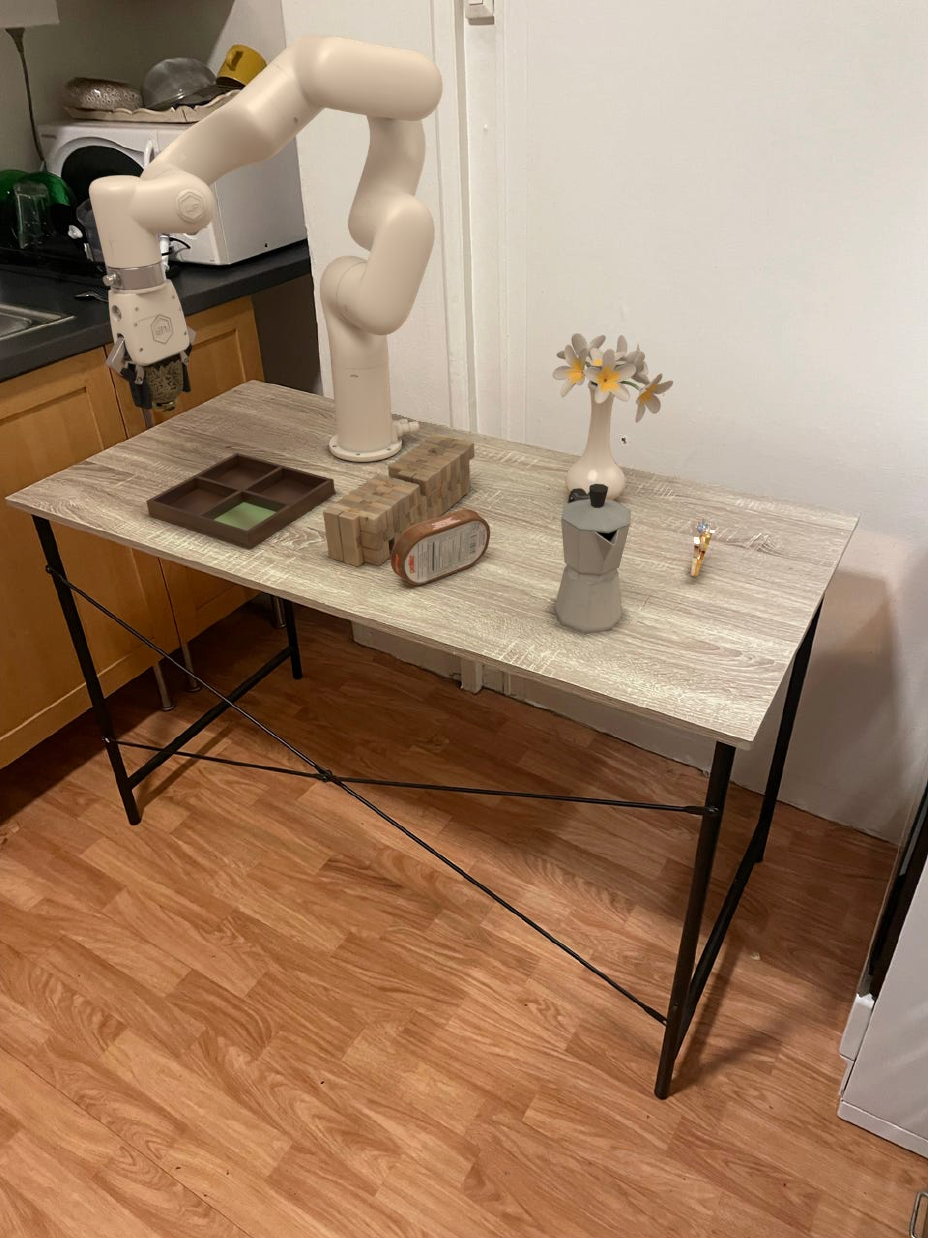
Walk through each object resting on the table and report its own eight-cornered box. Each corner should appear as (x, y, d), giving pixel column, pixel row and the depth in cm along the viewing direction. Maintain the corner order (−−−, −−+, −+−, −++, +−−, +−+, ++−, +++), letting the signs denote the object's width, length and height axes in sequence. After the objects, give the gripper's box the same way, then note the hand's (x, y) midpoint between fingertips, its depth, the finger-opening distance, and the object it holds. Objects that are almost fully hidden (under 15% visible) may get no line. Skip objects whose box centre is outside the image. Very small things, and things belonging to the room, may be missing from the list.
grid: (239, 466, 154) (236, 452, 153) (335, 494, 146) (333, 479, 144) (149, 516, 140) (145, 500, 138) (250, 549, 132) (247, 533, 130)
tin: (480, 552, 131) (480, 499, 126) (493, 561, 129) (494, 508, 124) (390, 586, 123) (387, 531, 119) (403, 596, 121) (400, 541, 117)
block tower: (373, 577, 127) (477, 487, 147) (368, 524, 122) (476, 439, 142) (327, 562, 130) (435, 476, 150) (321, 510, 125) (433, 429, 145)
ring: (702, 589, 122) (712, 536, 118) (678, 584, 123) (687, 532, 119) (711, 563, 128) (720, 512, 123) (688, 559, 129) (696, 508, 124)
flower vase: (629, 535, 134) (648, 368, 120) (526, 499, 144) (532, 340, 130) (671, 502, 143) (693, 343, 129) (571, 470, 152) (581, 318, 138)
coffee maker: (638, 637, 113) (654, 507, 103) (569, 646, 112) (579, 516, 102) (598, 575, 125) (609, 453, 115) (536, 582, 124) (542, 460, 114)
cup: (182, 419, 135) (171, 365, 130) (133, 418, 135) (120, 365, 130) (197, 399, 141) (187, 348, 136) (149, 399, 141) (138, 348, 136)
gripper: (105, 295, 119) (135, 424, 129) (202, 264, 131) (223, 384, 141) (67, 287, 122) (100, 413, 133) (165, 258, 134) (188, 376, 145)
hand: (163, 397), depth 137 cm, fingers closed on cup, 7 cm apart
